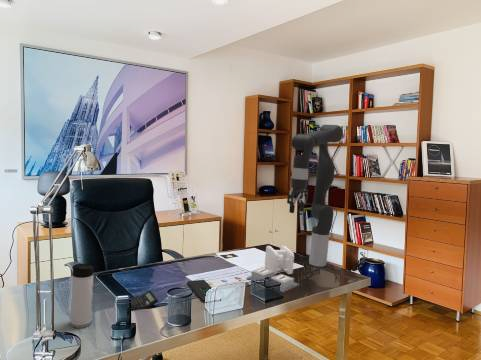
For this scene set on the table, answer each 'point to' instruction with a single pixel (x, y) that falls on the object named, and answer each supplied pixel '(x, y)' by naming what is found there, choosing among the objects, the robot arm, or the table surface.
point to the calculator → (143, 301)
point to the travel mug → (82, 295)
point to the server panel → (274, 278)
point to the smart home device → (199, 288)
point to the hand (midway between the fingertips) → (296, 212)
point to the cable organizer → (279, 259)
